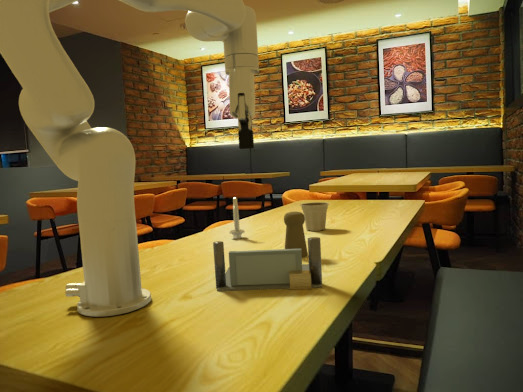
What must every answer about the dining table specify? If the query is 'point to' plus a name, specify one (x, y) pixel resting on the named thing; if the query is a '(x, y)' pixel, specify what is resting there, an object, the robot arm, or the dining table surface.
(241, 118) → the robot arm
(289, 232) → the cork
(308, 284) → the stile
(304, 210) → the flower pot
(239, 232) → the screw
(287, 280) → the gate
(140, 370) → the dining table surface
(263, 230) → the dining table surface
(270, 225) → the dining table surface
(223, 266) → the hinge post
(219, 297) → the dining table surface
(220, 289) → the mat
